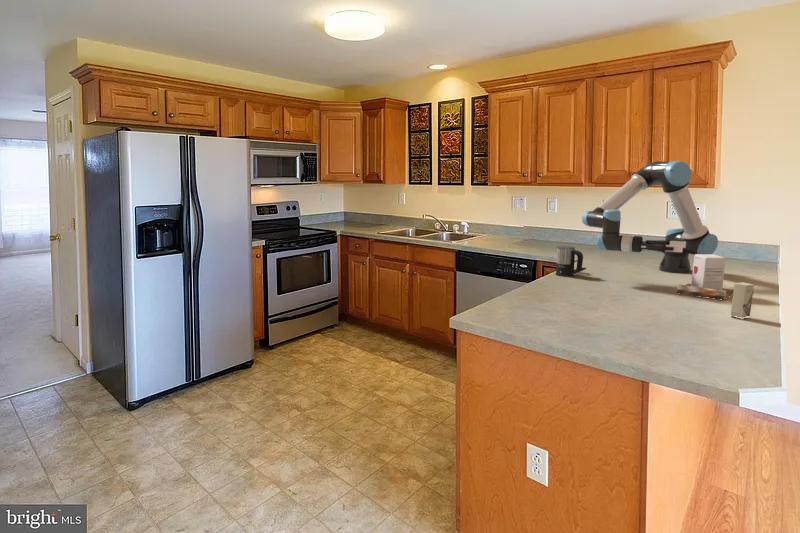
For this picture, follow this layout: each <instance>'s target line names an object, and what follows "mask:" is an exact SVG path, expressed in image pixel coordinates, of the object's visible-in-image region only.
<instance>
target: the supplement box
mask: <svg viewBox="0 0 800 533" xmlns="http://www.w3.org/2000/svg"><path fill="white" fill-rule="evenodd" d="M726 262H727V257H725V256H724V257H723V256H721V255H717V254H714V253H713V254H695V255H694V256H693V265H692V275H691V283H690V284H691V286H694V287H701V288H708V289H715V290H722V288H723V286H724V285H723V284H724V277H725V268H726Z"/></svg>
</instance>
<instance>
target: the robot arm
mask: <svg viewBox="0 0 800 533" xmlns="http://www.w3.org/2000/svg"><path fill="white" fill-rule="evenodd" d="M691 176H692V169H691V167H690V166H689V164H687V163H686V162H685V161H682V160H670V161H669V160H668V161H667V160H666V161H665V160H663V161H659V160H658V161H653V162H650V163H647V164H646V165H645V166H643V167H642V168H640V169H639V170H638V171H636V172H634V173H633V174H632V175H631V177H630V180H628V181H627V182H626V183H624V185H622V186H621V187H620V188H619V189H617V190H616V191H615V192H614V193H613V194H611V195H610V196H609V197H608V198H607V199H605V200H604V201H602V203H600V204H599V205H598V206H597V207H595V209H593V210H590V211H585V212H584V213H583V214H582V217H581V222H582V224H583V225H584V226H586V227H590V228H598V229H602V233H600V234H598V235H597V237H596V238H597V239H596V247H597V249H599V250H604V251H613V252H624V253H625V254H626V253H627V252H633V253H641V252H642V250H645V251H646V250H647V251H652V252H660V253H662V254H663V257H662V259H661V261H660V264H659V267H658V269H659V271H662V272H667V273H674V274H675V273H676V274H688V273H691V272H692V265H691V262H690V259H689V255H695V254H714V253H715V252H716V251H717V249H718V248H717V247H718V245H719V238H718V236H717V235H716V234H713V233H710V230H709V228H708V227H707V226H706V225H703V223H702V220H701V218H700V215H699V213H698V210H697V208H696V205H695V202H694V199H693V198H692V195H691V193H690V190H689V187H688V186H689V185H690V181H691V179H692V177H691ZM652 186H661V188H662V190H663V192H664V194H668V195H669V198H670V200H671V203H672V206H673V208H674V210H675V213H676V216H677V217H678V219H679V222H680V225H681V227H682V228H681V227H680V228H668V229H667V230H666V232H665V240H663V239H662V240H660V239H659V240H658V239H656V240H655V239H652V240H651V239H646V240H644V239H643V236H641V235H639V236H638V235H634V236H633V235H625V234H624V235H621V234H620V233H621V232H620V229H621V221H622V218H621V216H622V215H621V211H620V210H619V209H620V208H622V207H623V206H624V205H625V204H627V202H629V201H630V200H631V199H633V198H634V197H635V196H637V195H638V194H639V193H640V192H641V191H645V190H647V189H648V188H649V187H652Z"/></svg>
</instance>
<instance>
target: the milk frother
mask: <svg viewBox="0 0 800 533" xmlns="http://www.w3.org/2000/svg"><path fill="white" fill-rule="evenodd" d="M575 249H576V246H573V245H572V246H571V245H557V246H556V267H555V268H556V269H555V275H556V276H558V277H559V276H560V277H572V276H575V274H577V273H581V272H582V271H585V270H586V269H587V267H583V262H584V254H583V253H582V251H580V250H575ZM575 256H577V260H576V261H577V262H576V267H575Z"/></svg>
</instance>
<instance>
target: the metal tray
mask: <svg viewBox="0 0 800 533" xmlns="http://www.w3.org/2000/svg"><path fill="white" fill-rule="evenodd" d="M676 291H677V292H676V294H677V293H680V294H679V295H682V294H687V295H686V296H689V295H693V296H692V297H696V296H701V297H700V298H702V297H709V298H715V299H722V300H725V299H726V298H727V299H729V298H730V297H731V296H733V295H732V294H733V292H734V289H730V288H724V287H722V290H715V289H708V288H701V287H694V286H691V283H686V284H677V290H676ZM729 296H730V297H729ZM728 297H729V298H728ZM709 298H708V299H709ZM715 299H714V300H715ZM727 299H726V300H727ZM722 300H721V301H722ZM726 300H725V301H726Z"/></svg>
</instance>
